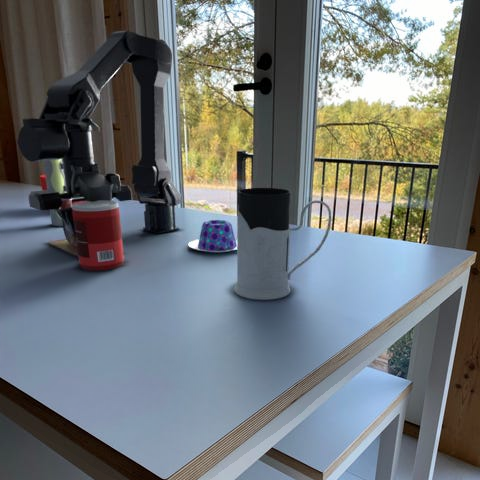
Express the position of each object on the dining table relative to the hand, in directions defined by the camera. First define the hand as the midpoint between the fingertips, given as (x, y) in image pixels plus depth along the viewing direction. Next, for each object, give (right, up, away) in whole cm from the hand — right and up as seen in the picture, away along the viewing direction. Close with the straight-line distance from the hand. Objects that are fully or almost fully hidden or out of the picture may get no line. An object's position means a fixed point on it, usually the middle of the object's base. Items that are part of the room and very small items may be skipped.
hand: (88, 240), depth 94 cm
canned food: (+5, -6, -8) cm, 11 cm away
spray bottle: (-14, +8, +25) cm, 30 cm away
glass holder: (+37, -11, -21) cm, 43 cm away
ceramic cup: (-17, +15, +43) cm, 48 cm away
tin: (-2, -1, +3) cm, 4 cm away
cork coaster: (-2, -1, +3) cm, 4 cm away
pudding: (+26, -1, +4) cm, 26 cm away
